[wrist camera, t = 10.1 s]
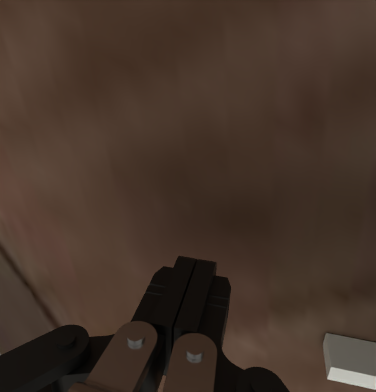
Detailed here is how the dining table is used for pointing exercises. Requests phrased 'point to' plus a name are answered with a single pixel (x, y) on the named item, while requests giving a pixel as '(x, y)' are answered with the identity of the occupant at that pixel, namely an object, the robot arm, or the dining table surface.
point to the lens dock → (350, 360)
